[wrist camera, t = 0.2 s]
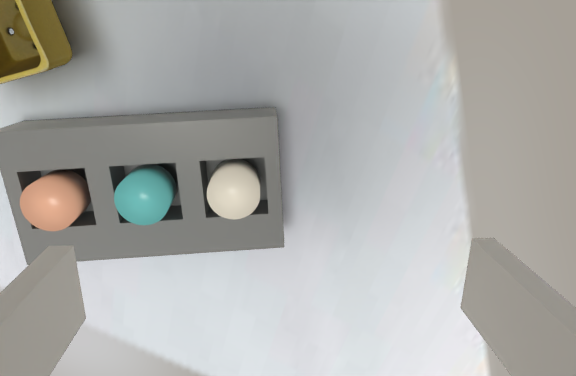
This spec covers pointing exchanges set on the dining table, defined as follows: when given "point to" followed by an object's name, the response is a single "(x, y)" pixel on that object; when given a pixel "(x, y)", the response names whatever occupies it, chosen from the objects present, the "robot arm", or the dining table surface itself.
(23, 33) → the flower pot
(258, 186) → the cream button
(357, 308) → the dining table surface
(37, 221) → the terracotta button
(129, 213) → the teal button
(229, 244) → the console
